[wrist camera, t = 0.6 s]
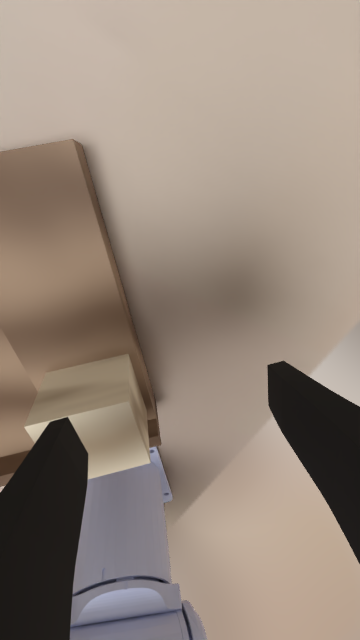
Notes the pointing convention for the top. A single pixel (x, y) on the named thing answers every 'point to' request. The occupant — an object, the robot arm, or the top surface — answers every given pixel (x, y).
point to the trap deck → (55, 287)
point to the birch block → (97, 412)
